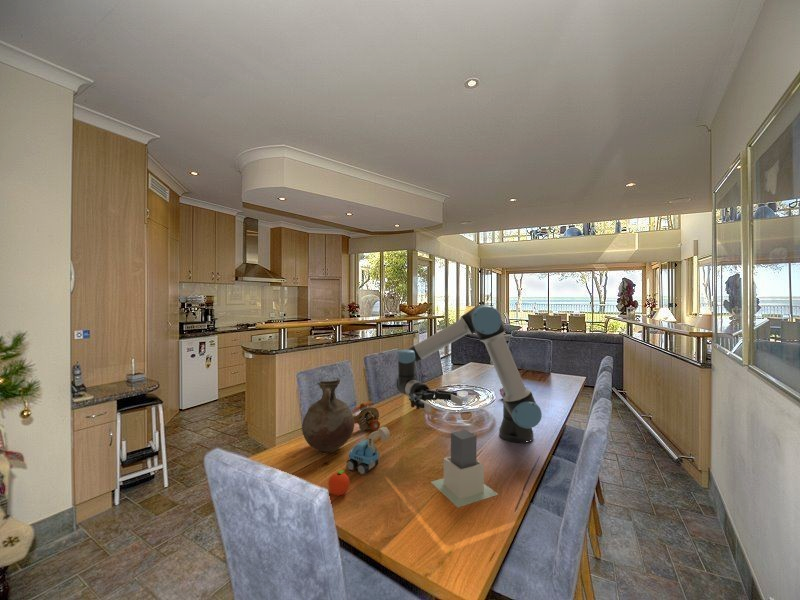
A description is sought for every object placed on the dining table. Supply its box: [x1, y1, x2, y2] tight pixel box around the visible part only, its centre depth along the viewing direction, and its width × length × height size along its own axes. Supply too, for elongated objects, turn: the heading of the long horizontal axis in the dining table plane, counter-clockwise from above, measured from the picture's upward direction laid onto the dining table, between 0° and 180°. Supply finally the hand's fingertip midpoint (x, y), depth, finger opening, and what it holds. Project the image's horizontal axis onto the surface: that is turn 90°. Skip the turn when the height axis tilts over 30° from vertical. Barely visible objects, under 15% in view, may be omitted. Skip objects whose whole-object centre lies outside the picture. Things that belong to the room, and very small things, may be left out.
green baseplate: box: [430, 477, 499, 508], centre depth 115 cm, size 16×16×1 cm
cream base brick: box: [443, 455, 485, 499], centre depth 115 cm, size 10×10×9 cm
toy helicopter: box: [351, 400, 381, 432], centre depth 166 cm, size 8×21×14 cm, turn 121°
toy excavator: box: [346, 426, 391, 476], centre depth 129 cm, size 9×17×17 cm, turn 58°
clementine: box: [327, 470, 351, 496], centre depth 114 cm, size 8×7×7 cm
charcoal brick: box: [450, 429, 478, 469], centre depth 115 cm, size 6×6×10 cm
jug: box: [301, 377, 355, 455], centre depth 146 cm, size 22×22×30 cm
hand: (446, 405), depth 124 cm, fingers open, 13 cm apart
